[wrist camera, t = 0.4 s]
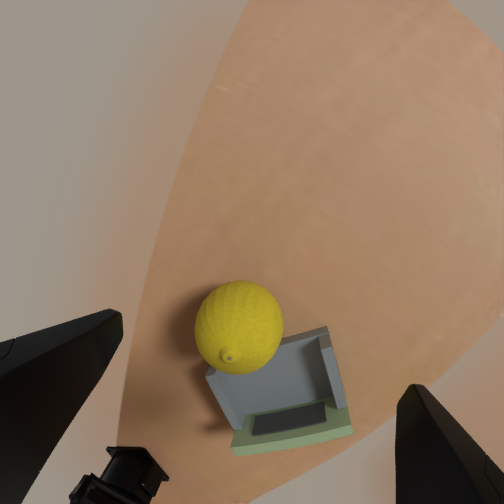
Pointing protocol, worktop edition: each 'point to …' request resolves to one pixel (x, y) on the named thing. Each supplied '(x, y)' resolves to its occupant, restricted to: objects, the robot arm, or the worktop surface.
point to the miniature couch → (285, 397)
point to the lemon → (238, 327)
